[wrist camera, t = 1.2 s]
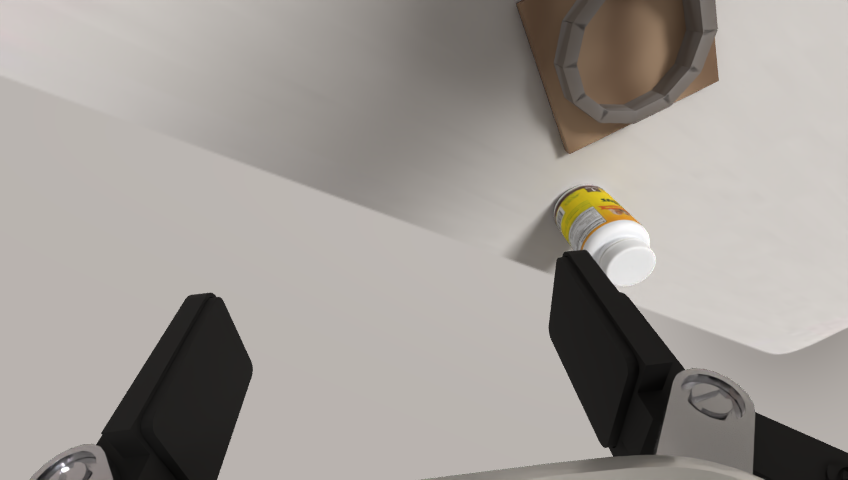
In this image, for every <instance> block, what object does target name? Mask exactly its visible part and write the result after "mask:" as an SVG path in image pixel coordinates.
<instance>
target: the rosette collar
mask: <svg viewBox="0 0 848 480" xmlns="http://www.w3.org/2000/svg"><path fill="white" fill-rule="evenodd" d="M517 7H518V10H519V13H520V16H521V19H522V22H523V25H524V28H525V31H526V34H527V37H528V40H529V43H530V46H531V49H532V52H533V55H534V58H535V61H536V64H537V67H538V70H539V73H540V76H541V79H542V82H543V85H544V88H545V91H546V94H547V97H548V100H549V103H550V106H551V109H552V112H553V115H554V118H555V121H556V124H557V127H558V130H559V133H560V136H561V139H562V142H563V145H564V147H565V150H566V151H567V152H568V153H569V154H571V153H573V152H575V151H577V150H579V149H581V148H583V147H585V146H587V145H589V144H591V143H593V142H595V141H597V140H599V139H601V138H603V137H605V136H607V135H609V134H611V133H613V132H615V131H617V130H619V129H621V128H624V127H626V126H628V125H630V124H634V123H637V122H639V121H641V120H643V119H645V118H647V117H649V116H651V115H653V114H655V113H657V112H659V111H661V110H663V109H665V108H667V107H669V106H670V105H672V104H673V103H674V102H676V101H678V100H680V99H682V98H684V97H687V96H689V95H691V94H693V93H695V92H697V91H699V90H701V89H703V88H705V87H707V86H709V85H711V84H713V83H715V82H717V81H719V78H718V68H717V57H716V47H715V35H716V32H717V29H718V27H717V16H716V5H715V0H522V1H520V2H519V3H517Z"/></svg>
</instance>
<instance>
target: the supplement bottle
mask: <svg viewBox="0 0 848 480" xmlns="http://www.w3.org/2000/svg"><path fill="white" fill-rule="evenodd" d="M554 221H555V223H556V225H557V227H558V228H559V230H560V231H561V233H562V234H563V236H564V237H565V239H566V240H567V241H568V243H569V244H570V246H571V247H572V249H573V250H574V251H576V250H587V251H588V252H589V253H590V255H591V256H592V257H593V259H594V260H595V261H596V263H597V264H598V265H599V266H600V268H601V269H602V270H603V272H604V273H605V274H606V276H607V277H608V278H609V279H610V281H611V282H612V283H613V285H615V286H619V287H628V286H632V285H635V284H637V283H639V282H641V281H643V280H644V279H645V278H647V277H648V276H649V275H650V274H651V272H652V271H653V269H654V267H655V264H656V257H655V254H654V252H653V251H652V250H651V249H650V248H649V247H650V238H649V235H648V233H647V231H646V230H645V229H644V227H643V226H642V225H641V224H640V223H639V222H637V221H636V220H635V219H634V218H633V217H632V216H631V215H630V214H629V213H628V212H627V211H626V210H625V209H624V208H623V207H622V206H620V205H619V204H618V203H617V202H616V201H615V200H614V199H613V198H612V197H611V196H610V195H609V194H608V193H606V192H605V191H604V190H603V189H602V188H600V187H598V186H595V185H589V184H586V185H579V186H576V187H573V188H571V189H570V190H568V191H567V192H565V193H564V194H563V195H562V196H561V197H560V199H559V200H558V202H557V203H556V205H555V208H554Z"/></svg>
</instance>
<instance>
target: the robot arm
mask: <svg viewBox="0 0 848 480" xmlns="http://www.w3.org/2000/svg"><path fill="white" fill-rule="evenodd" d="M549 334H550V338H551V340H552V342H553V344H554V347H555V349H556V351H557V353H558V355H559V357H560V359H561V361H562V364H563V366H564V368H565V370H566V372H567V374H568V376H569V378H570V380H571V383H572V385H573V387H574V389H575V391H576V393H577V395H578V397H579V400H580V401H581V404H582V406H583V408H584V410H585V412H586V414H587V416H588V419H589V421H590V423H591V425H592V427H593V429H594V431H595V433H596V435H597V438H598V440H599V442H600V443H601V445H602V446H603V447H605V448H607V447H609V449H610V451H611V453H612V455H613V457H606V458H597V459H588V460H578V461H568V462H559V463H550V464H542V465H534V466H526V467H518V468H510V469H502V470H494V471H486V472H478V473H470V474H462V475H454V476H446V477H438V478H431V479H424V480H848V453H846V452H844V451H842V450H840V449H837V448H835V447H833V446H831V445H828V444H826V443H824V442H821V441H819V440H817V439H815V438H813V437H810V436H808V435H805V434H803V433H801V432H799V431H797V430H794V429H792V428H790V427H788V426H785V425H783V424H780V423H778V422H776V421H774V420H772V419H769V418H767V417H765V416H762V415H760V414H758V413H756V412H755V409H754V404H753V402H752V400H751V399H750V397H749V395H748V394H747V393H746V392H745V391H744V390H743V389H742V388H741V387H740V386H739V385H738V384H736V383H735V382H734V381H732V380H731V379H729V378H728V377H725V376H723V375H721V374H719V373H717V372H714V371H710V370H706V369H696V368H692V369H687V370H685V369H684V368H683V366H682V365H681V364H680V362H679V361H678V360H677V359H676V357H675V356H674V355H673V354H672V353H671V351H670V350H669V348H668V347H667V346H666V345H665V343H664V342H663V341H662V339H661V338H660V337H659V336H658V334H657V333H656V332H655V331H654V329H653V328H652V327H651V326H650V324H649V323H648V322H647V321H646V319H645V318H644V316H643V315H642V314H641V313H640V311H639V310H638V309H637V308H636V306H635V305H634V304H633V302H632V301H631V300H630V299H629V297H628V296H626V295H625V294H624V293H621V292H619V291H618V290H617V289H616V287H615V286H614V285H613V283H612V282H611V281H610V279H609V278H608V277H607V276H606V274H605V273H604V272H603V270H602V269H601V268H600V266H599V265H598V264H597V263H596V261H595V260H594V259H593V257H592V256H591V255H590V253H589V252H588V251H587V250H576V251H567V252H564V254H563V256H562V257H560V258H558V259H557V262H556V270H555V278H554V287H553V296H552V304H551V312H550V320H549ZM252 371H253V367H252V363H251V360H250V358H249V356H248V354H247V351H246V350H245V347H244V345H243V343H242V340H241V339H240V336H239V334H238V332H237V330H236V327H235V325H234V323H233V321H232V319H231V317H230V314H229V312H228V310H227V308H226V306H225V303H224V302H223V300H222V298H220V297H216V296H215V295H214V294H213V293H204V294H196V295H190V296H188V297H187V298H186V299H185V301H184V302H183V304H182V306H181V307H180V309H179V310H178V312H177V314H176V315H175V317H174V318H173V320H172V321H171V323H170V325H169V326H168V328H167V329H166V331H165V333H164V334H163V336H162V337H161V339H160V341H159V342H158V344H157V345H156V347H155V349H154V350H153V352H152V353H151V355H150V356H149V358H148V360H147V361H146V363H145V364H144V366H143V368H142V369H141V371H140V372H139V374H138V375H137V377H136V379H135V380H134V382H133V384H132V385H131V387H130V388H129V390H128V391H127V393H126V395H125V396H124V398H123V400H122V401H121V403H120V404H119V406H118V407H117V409H116V410H115V412H114V414H113V415H112V417H111V419H110V420H109V422H108V423H107V425H106V426H105V428H104V430H103V431H102V433H101V434H102V436H101V438H100V440H99V441H98V443H97V444H96V445H94V444H85V445H80V446H77V447H74V448H70V449H69V450H67V451H65V452H62V453H61V454H59V455H57V456H56V457H54V458H53V459H52V460H50V461H48V462H47V463H46V464H45V465H43V466H42V467H41V468H40V469H39V470H38V471H37V472H36V473H35V474H34V475H33V476H32V477H31V478H30V480H217V478H218V475H219V472H220V469H221V466H222V463H223V460H224V457H225V454H226V451H227V448H228V445H229V442H230V439H231V436H232V433H233V430H234V427H235V424H236V421H237V418H238V416H239V413H240V410H241V407H242V404H243V401H244V398H245V394H246V392H247V389H248V386H249V383H250V380H251V377H252Z"/></svg>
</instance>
